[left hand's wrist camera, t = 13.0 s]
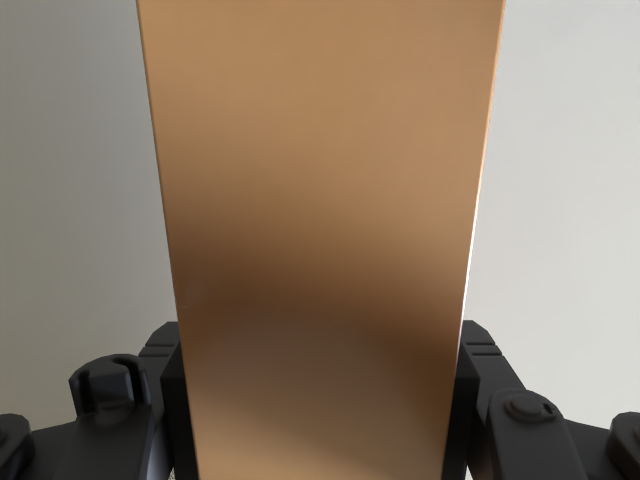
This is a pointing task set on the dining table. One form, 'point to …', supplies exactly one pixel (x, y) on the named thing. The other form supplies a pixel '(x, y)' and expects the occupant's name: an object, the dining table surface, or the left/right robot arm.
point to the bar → (320, 223)
